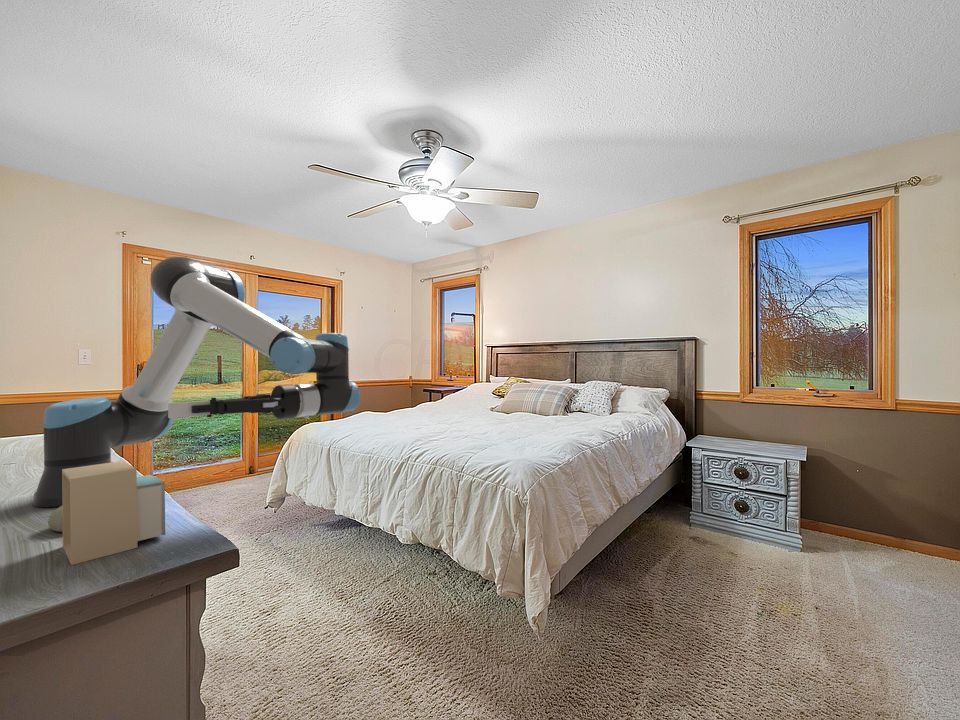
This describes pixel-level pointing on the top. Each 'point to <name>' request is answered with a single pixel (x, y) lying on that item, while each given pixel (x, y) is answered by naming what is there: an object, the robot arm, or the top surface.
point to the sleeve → (99, 510)
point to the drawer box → (150, 507)
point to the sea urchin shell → (56, 520)
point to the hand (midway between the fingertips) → (169, 410)
